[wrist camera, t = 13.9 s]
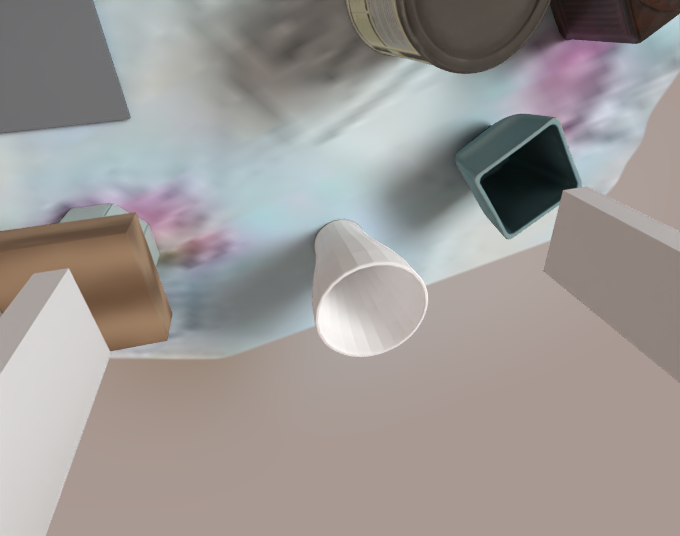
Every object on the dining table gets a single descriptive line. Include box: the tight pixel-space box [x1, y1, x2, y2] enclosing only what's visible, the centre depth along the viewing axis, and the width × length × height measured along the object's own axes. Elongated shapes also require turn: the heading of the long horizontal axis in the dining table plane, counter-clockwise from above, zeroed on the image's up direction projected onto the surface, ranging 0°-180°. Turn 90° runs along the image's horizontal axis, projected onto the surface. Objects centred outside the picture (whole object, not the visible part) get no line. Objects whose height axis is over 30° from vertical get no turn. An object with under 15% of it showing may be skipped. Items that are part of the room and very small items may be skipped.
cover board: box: [0, 212, 172, 351], centre depth 35 cm, size 11×11×4 cm
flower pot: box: [455, 114, 582, 239], centre depth 42 cm, size 9×9×9 cm
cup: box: [312, 220, 428, 357], centre depth 42 cm, size 10×10×14 cm
